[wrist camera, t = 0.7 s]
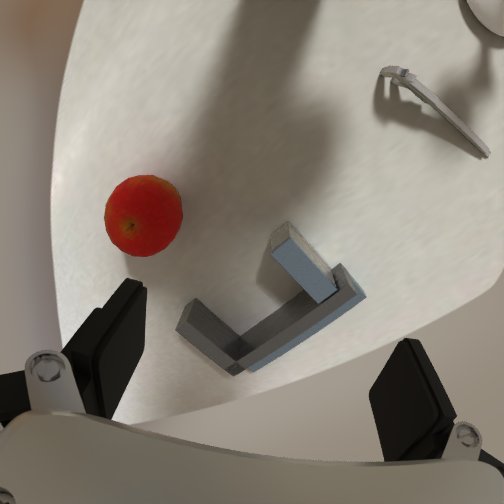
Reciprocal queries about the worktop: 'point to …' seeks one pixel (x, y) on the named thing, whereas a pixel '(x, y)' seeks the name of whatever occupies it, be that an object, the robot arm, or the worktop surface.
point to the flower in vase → (489, 14)
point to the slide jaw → (302, 262)
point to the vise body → (267, 327)
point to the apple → (143, 215)
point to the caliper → (432, 102)
